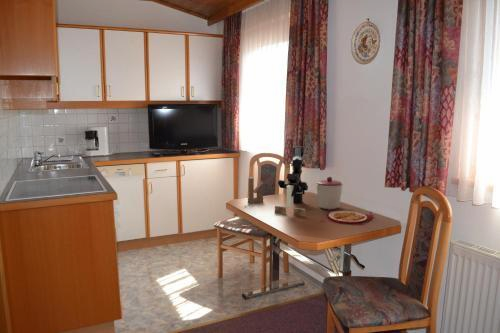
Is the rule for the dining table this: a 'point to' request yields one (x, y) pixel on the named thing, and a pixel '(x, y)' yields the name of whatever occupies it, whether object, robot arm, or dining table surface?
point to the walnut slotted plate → (296, 211)
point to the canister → (329, 193)
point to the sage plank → (289, 196)
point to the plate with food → (348, 217)
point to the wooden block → (255, 191)
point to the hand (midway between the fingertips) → (289, 196)
